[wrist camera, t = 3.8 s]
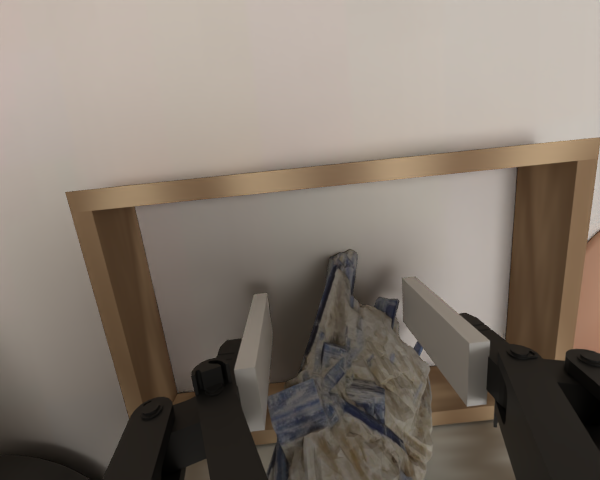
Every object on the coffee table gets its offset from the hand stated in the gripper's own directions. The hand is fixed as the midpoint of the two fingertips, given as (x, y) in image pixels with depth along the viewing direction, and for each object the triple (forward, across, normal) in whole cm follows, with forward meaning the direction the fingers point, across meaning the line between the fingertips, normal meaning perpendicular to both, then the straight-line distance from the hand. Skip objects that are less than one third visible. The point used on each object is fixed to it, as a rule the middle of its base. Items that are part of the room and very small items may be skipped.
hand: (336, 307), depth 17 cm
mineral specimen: (+4, 0, 0) cm, 4 cm away
